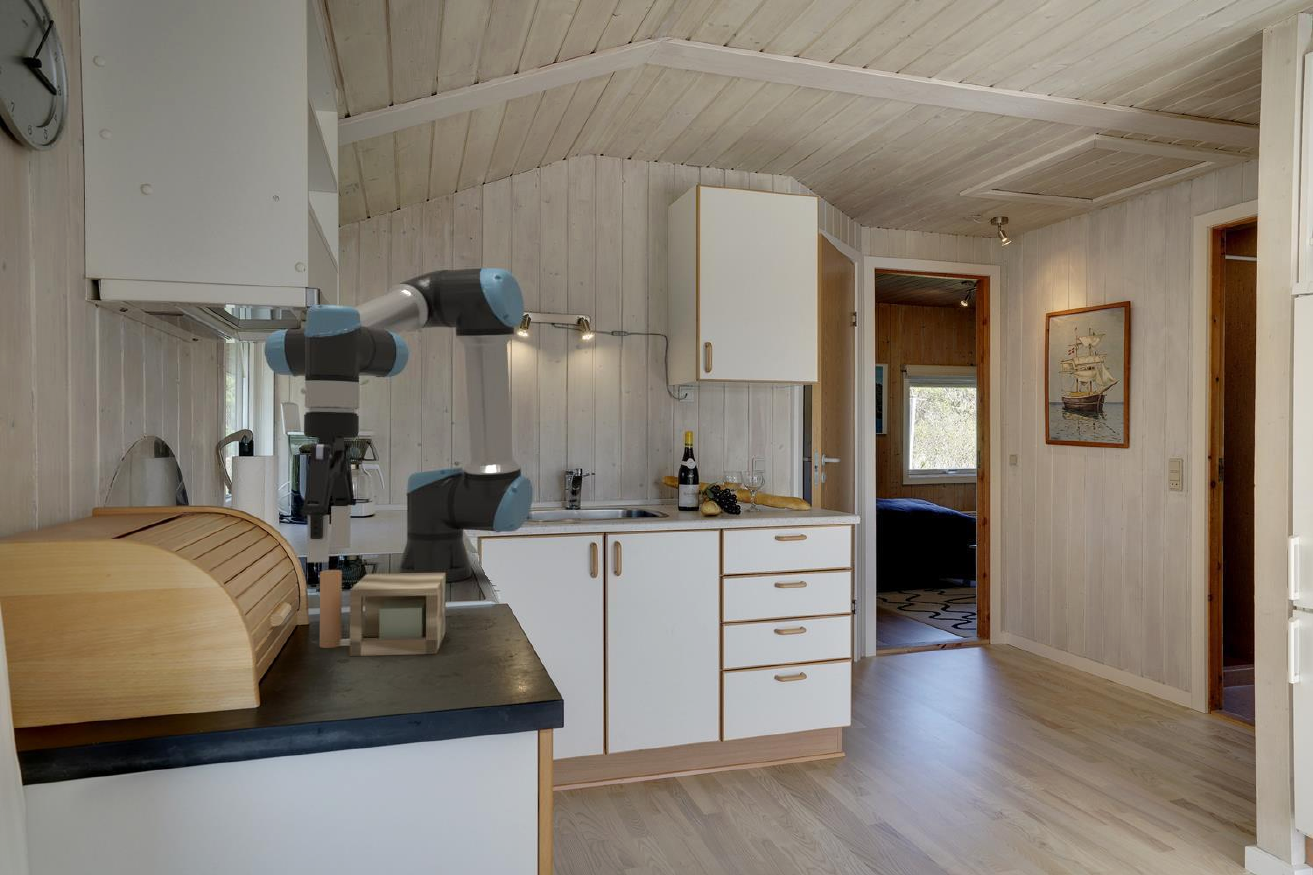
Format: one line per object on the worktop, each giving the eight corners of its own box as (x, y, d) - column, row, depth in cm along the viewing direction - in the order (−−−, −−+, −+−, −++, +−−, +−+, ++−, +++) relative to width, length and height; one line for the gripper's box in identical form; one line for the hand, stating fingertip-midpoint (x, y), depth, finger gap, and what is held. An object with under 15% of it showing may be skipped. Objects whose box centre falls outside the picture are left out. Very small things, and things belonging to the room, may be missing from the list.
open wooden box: (366, 634, 129) (367, 573, 129) (445, 632, 131) (445, 572, 130) (349, 655, 117) (350, 589, 117) (436, 653, 119) (437, 588, 119)
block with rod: (325, 640, 125) (325, 568, 125) (426, 637, 127) (427, 566, 127) (314, 651, 119) (315, 575, 119) (421, 648, 121) (422, 574, 121)
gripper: (326, 412, 133) (324, 542, 134) (279, 408, 109) (277, 568, 109) (374, 413, 134) (372, 542, 135) (338, 409, 110) (336, 568, 110)
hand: (329, 554), depth 122 cm, fingers open, 13 cm apart
